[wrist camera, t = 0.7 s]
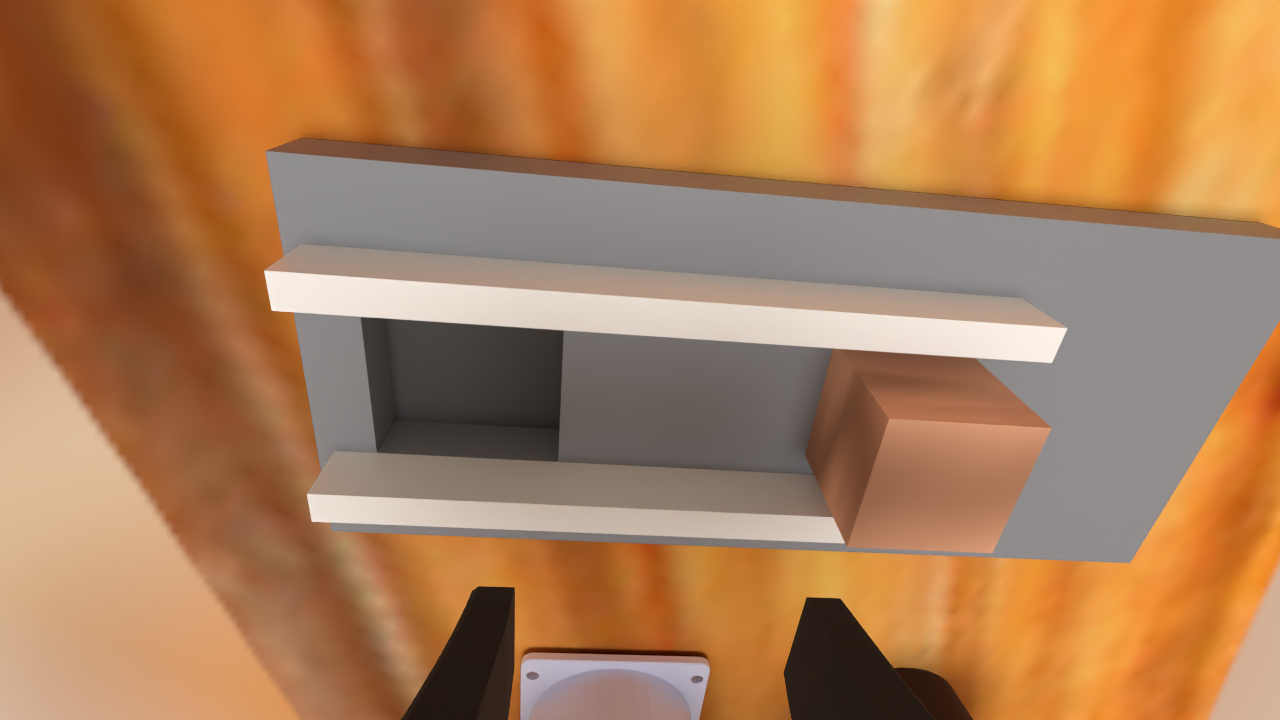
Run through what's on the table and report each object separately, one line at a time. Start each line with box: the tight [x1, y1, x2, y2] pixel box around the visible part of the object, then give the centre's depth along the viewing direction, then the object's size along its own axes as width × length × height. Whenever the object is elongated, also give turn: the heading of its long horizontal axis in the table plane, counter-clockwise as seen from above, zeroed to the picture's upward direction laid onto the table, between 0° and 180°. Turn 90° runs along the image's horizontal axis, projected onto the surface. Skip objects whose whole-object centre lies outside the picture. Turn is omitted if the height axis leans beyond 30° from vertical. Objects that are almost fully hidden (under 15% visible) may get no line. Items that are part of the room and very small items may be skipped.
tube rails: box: [264, 244, 1067, 543], centre depth 18 cm, size 8×20×2 cm, turn 85°
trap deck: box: [266, 138, 1280, 563], centre depth 20 cm, size 12×28×2 cm, turn 85°
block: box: [805, 348, 1052, 553], centre depth 18 cm, size 4×4×4 cm
